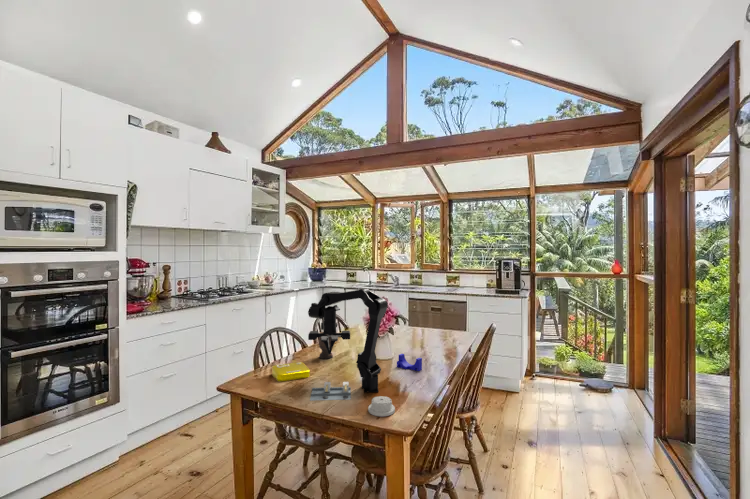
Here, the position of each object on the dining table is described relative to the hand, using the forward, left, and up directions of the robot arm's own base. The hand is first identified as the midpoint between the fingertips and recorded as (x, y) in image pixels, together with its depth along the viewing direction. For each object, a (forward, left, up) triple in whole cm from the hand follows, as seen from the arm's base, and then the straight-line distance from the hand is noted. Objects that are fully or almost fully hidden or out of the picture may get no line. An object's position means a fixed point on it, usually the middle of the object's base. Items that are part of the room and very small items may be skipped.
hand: (329, 354), depth 172 cm
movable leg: (0, +19, -11) cm, 22 cm away
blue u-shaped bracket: (-39, -14, -12) cm, 43 cm away
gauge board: (-1, +18, -12) cm, 22 cm away
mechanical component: (-21, +32, -12) cm, 40 cm away
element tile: (+18, -6, -13) cm, 23 cm away
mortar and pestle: (+2, -34, -12) cm, 36 cm away
